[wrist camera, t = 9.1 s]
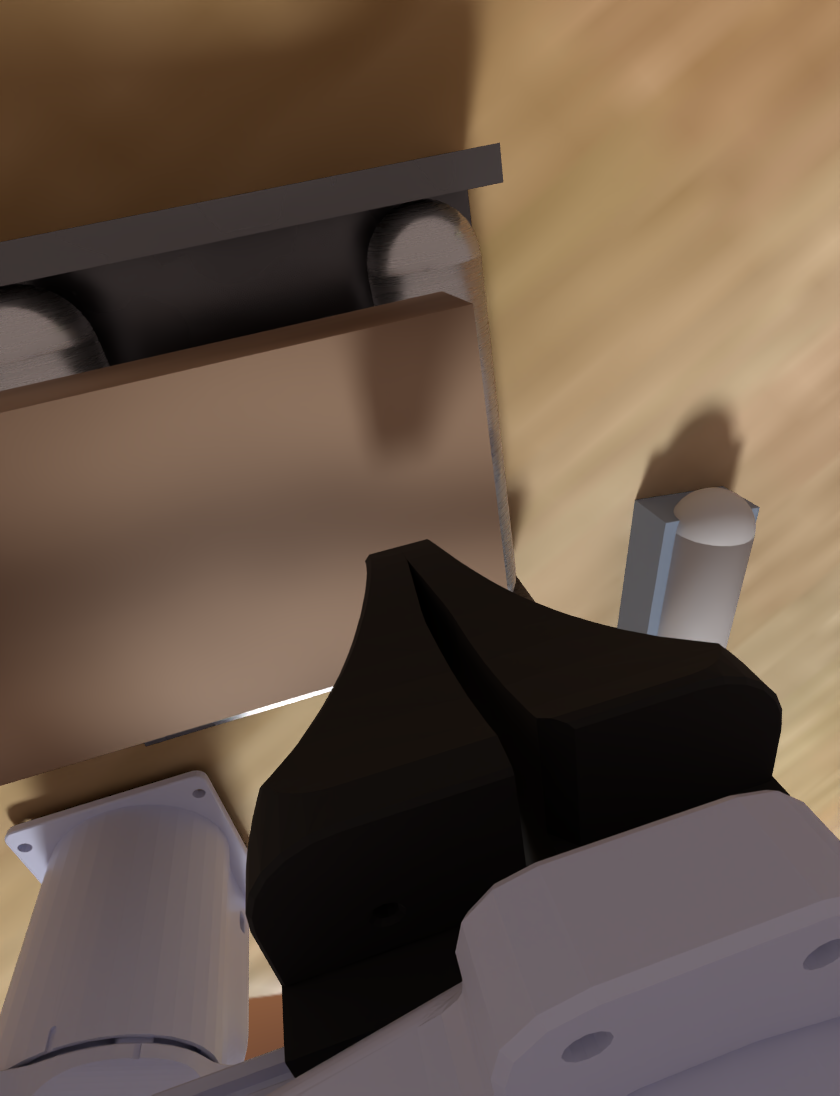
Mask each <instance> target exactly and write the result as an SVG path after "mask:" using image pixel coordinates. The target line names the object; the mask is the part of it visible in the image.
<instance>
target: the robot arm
mask: <svg viewBox="0 0 840 1096" xmlns="http://www.w3.org/2000/svg"><path fill="white" fill-rule="evenodd" d="M365 563H366V569H367V577H366V588H365V594H364V600H363V605H362V610H361V615H360V618H359V622H358V625H357V629H356V632H355V636H354V639H353V642H352V645H351V648H350V650H349V653H348V656H347V658H346V660H345V663H344V665H343V667H342V670H341V672H340V674H339V676H338V678H337V680H336V682H335V684H334V686H333V688H332V690H331V692H330V694H329V696H328V698H327V699H326V701H325V703H324V705H323V706H322V708H321V710H320V711H319V713H318V714H317V716H316V717H315V719H314V720H313V722H312V723H311V725H310V726H309V728H308V729H307V731H306V732H305V734H304V735H303V737H302V738H301V740H300V741H299V743H298V744H297V745H296V747H295V748H294V749H293V751H292V752H291V753H290V754H289V755H288V756H287V758H286V759H285V760H284V761H283V762H282V763H281V765H280V766H279V767H278V768H277V769H276V770H275V772H274V773H273V774H272V775H271V776H270V777H269V778H268V779H267V781H266V782H265V783H264V784H263V785H262V786H261V787H260V790H259V793H258V797H257V802H256V806H255V810H254V815H253V819H252V825H251V831H250V836H249V844H248V850H247V848H246V846H245V844H244V842H243V841H242V839H241V837H240V835H239V833H238V831H237V829H236V828H235V826H234V824H233V822H232V820H231V818H230V816H229V815H228V813H227V811H226V809H225V807H224V805H223V803H222V802H221V800H220V798H219V796H218V794H217V792H216V790H215V789H214V787H213V785H212V783H211V781H210V779H209V777H208V776H207V774H206V773H204V772H202V771H197V770H195V771H190V772H187V773H184V774H180V775H177V776H174V777H171V778H167V779H164V780H161V781H158V782H154V783H151V784H148V785H145V786H141V787H138V788H135V789H132V790H128V791H125V792H122V793H119V794H115V795H112V796H109V797H106V798H102V799H99V800H96V801H92V802H89V803H86V804H83V805H79V806H76V807H73V808H70V809H66V810H63V811H60V812H57V813H53V814H50V815H47V816H44V817H40V818H37V819H34V820H31V821H27V822H24V823H21V824H18V825H15V826H12V827H11V828H10V829H9V830H8V831H7V834H6V836H5V842H6V844H7V845H8V846H9V847H10V848H11V850H12V851H13V852H14V853H15V854H16V855H17V856H18V858H19V859H20V860H21V861H22V862H23V863H24V864H25V866H26V867H27V868H28V869H29V870H30V871H31V872H32V874H33V875H34V876H35V877H36V878H37V879H38V880H39V882H40V883H41V884H42V885H41V888H40V891H39V894H38V897H37V900H36V904H35V907H34V910H33V913H32V916H31V919H30V922H29V926H28V929H27V932H26V935H25V938H24V941H23V945H22V948H21V951H20V954H19V957H18V960H17V963H16V967H15V970H14V973H13V976H12V979H11V982H10V985H9V989H8V992H7V995H6V998H5V1001H4V1004H3V1007H2V1011H1V1014H0V1096H840V840H839V839H838V838H837V837H836V836H835V835H834V834H833V833H832V832H831V831H830V830H829V829H828V828H827V827H826V826H825V825H824V823H823V822H822V821H821V820H820V819H819V818H818V817H817V816H816V815H815V814H814V813H813V812H812V811H811V810H810V809H809V808H808V807H807V805H806V804H805V803H804V802H802V801H800V800H798V799H795V798H793V797H791V796H790V795H789V794H788V793H787V792H786V791H785V789H784V788H783V787H782V786H781V785H780V784H779V783H778V782H777V781H776V780H775V779H774V778H773V777H772V773H773V768H774V763H775V758H776V753H777V748H778V743H779V738H780V733H781V725H782V708H781V705H780V703H779V700H778V698H777V695H776V694H775V693H774V692H773V691H772V690H771V689H770V688H769V687H768V686H767V685H766V684H765V683H763V682H762V681H761V680H760V679H759V678H758V677H757V676H756V675H755V674H754V673H753V672H752V671H751V670H750V669H749V668H748V667H747V666H746V665H745V664H744V663H743V662H741V661H740V660H739V659H738V658H737V657H735V656H734V655H733V654H732V653H730V652H729V651H728V650H727V649H725V648H724V647H723V646H721V645H720V644H719V643H711V642H703V641H694V640H686V639H677V638H669V637H661V636H654V635H649V634H644V633H639V632H633V631H628V630H623V629H619V628H614V627H610V626H606V625H602V624H598V623H595V622H591V621H588V620H584V619H581V618H577V617H574V616H571V615H568V614H565V613H562V612H559V611H556V610H553V609H551V608H548V607H546V606H543V605H541V604H538V603H536V602H533V601H531V600H528V599H526V598H524V597H522V596H520V595H517V594H515V593H513V592H511V591H509V590H508V589H506V588H504V587H502V586H500V585H498V584H496V583H494V582H492V581H491V580H489V579H487V578H486V577H484V576H482V575H481V574H479V573H477V572H476V571H474V570H472V569H471V568H469V567H468V566H466V565H465V564H463V563H462V562H460V561H459V560H457V559H456V558H454V557H453V556H451V555H450V554H449V553H447V552H446V551H444V550H443V549H442V548H440V547H439V546H437V545H436V544H435V543H433V542H432V541H430V540H428V539H425V540H421V541H418V542H414V543H410V544H406V545H403V546H399V547H395V548H392V549H388V550H384V551H380V552H377V553H373V554H369V556H368V557H367V559H366V560H365ZM197 789H202V790H197ZM249 928H250V931H251V933H252V935H253V937H254V938H255V940H256V942H257V944H258V945H259V947H260V949H261V951H262V952H263V954H264V956H265V957H266V959H267V961H268V963H269V964H270V966H271V968H272V970H273V971H274V973H275V975H276V976H277V978H278V980H279V982H280V983H281V985H282V999H283V1000H282V1001H283V1026H284V1027H283V1028H284V1047H282V1048H279V1049H276V1050H274V1051H271V1052H269V1053H265V1054H263V1055H260V1056H257V1057H254V1058H252V1059H249V1060H246V1061H244V1058H245V1054H246V1050H247V1043H248V1010H249V1009H248V1006H249V1003H248V1002H249Z"/></svg>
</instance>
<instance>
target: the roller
mask: <svg viewBox="0 0 840 1096" xmlns="http://www.w3.org/2000/svg"><path fill="white" fill-rule="evenodd" d="M759 508H760V507H758V506H756V505H754V504H753V503H751V502H749V501H748V500H746V499H744V498H742V497H741V496H739V495H738V494H736V493H734V492H732V491H730V490H729V489H727V488H725V487H723V486H721V487H710V488H703V489H699V490H696V491H689V492H683V493H677V494H670V495H664V496H657V497H651V498H644V499H638V500H635V504H634V511H633V519H632V526H631V533H630V540H629V547H628V555H627V562H626V569H625V576H624V583H623V591H622V598H621V605H620V612H619V619H618V627H617V628H619V629H623V630H628V631H633V632H639V633H644V634H649V635H654V636H661V637H669V638H677V639H686V640H694V641H703V642H711V643H719V644H720V645H721V646H723V647H724V648H725V649H726V646H727V642H728V639H729V635H730V631H731V627H732V623H733V619H734V615H735V611H736V607H737V603H738V599H739V595H740V591H741V587H742V583H743V580H744V576H745V572H746V568H747V564H748V560H749V556H750V552H751V548H752V544H753V540H754V536H755V530H756V520H757V516H758V512H759Z"/></svg>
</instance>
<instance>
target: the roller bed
mask: <svg viewBox="0 0 840 1096" xmlns="http://www.w3.org/2000/svg"><path fill="white" fill-rule="evenodd" d="M502 182H503V174H502V163H501V152H500V143H496V144H491V145H486V146H481V147H476V148H471V149H466V150H461V151H456V152H451V153H446V154H441V155H436V156H431V157H426V158H421V159H416V160H411V161H406V162H401V163H396V164H391V165H386V166H381V167H376V168H371V169H366V170H361V171H356V172H351V173H346V174H340V175H335V176H330V177H325V178H320V179H315V180H310V181H305V182H300V183H295V184H290V185H285V186H280V187H275V188H270V189H265V190H260V191H255V192H250V193H245V194H240V195H235V196H230V197H225V198H220V199H215V200H210V201H205V202H200V203H195V204H190V205H185V206H180V207H175V208H170V209H165V210H160V211H155V212H150V213H144V214H139V215H134V216H129V217H124V218H119V219H114V220H109V221H104V222H99V223H94V224H89V225H84V226H79V227H74V228H69V229H64V230H59V231H54V232H49V233H44V234H39V235H34V236H29V237H24V238H19V239H14V240H9V241H4V242H0V391H3V390H7V389H12V388H16V387H21V386H25V385H30V384H34V383H38V382H43V381H47V380H52V379H56V378H60V377H65V376H69V375H74V374H78V373H83V372H87V371H91V370H96V369H100V368H105V367H109V366H113V365H118V364H122V363H127V362H131V361H136V360H140V359H144V358H149V357H153V356H158V355H162V354H167V353H171V352H175V351H180V350H184V349H189V348H193V347H197V346H202V345H206V344H211V343H215V342H220V341H224V340H228V339H233V338H237V337H242V336H246V335H250V334H255V333H259V332H264V331H268V330H273V329H277V328H281V327H286V326H290V325H295V324H299V323H303V322H308V321H312V320H317V319H321V318H326V317H330V316H334V315H339V314H343V313H348V312H352V311H356V310H361V309H365V308H370V307H374V306H379V305H383V304H387V303H392V302H396V301H401V300H405V299H409V298H414V297H418V296H423V295H427V294H432V293H436V292H440V291H443V292H445V293H448V294H450V295H453V296H455V297H458V298H460V299H463V300H465V301H467V302H470V303H472V304H473V305H474V314H475V322H476V330H477V339H478V347H479V355H480V363H481V372H482V380H483V388H484V397H485V405H486V413H487V422H488V430H489V438H490V446H491V455H492V463H493V471H494V480H495V488H496V496H497V505H498V513H499V521H500V529H501V538H502V546H503V554H504V563H505V571H506V579H507V588H508V590H509V591H511V592H513V593H515V594H517V595H520V596H522V597H524V598H526V599H528V600H531V601H533V602H535V601H534V600H533V598H532V597H531V596H530V594H529V593H528V592H527V590H526V589H525V587H524V586H523V585H522V583H521V582H520V580H519V579H518V578H517V576H516V568H515V559H514V550H513V541H512V532H511V523H510V514H509V505H508V496H507V487H506V477H505V468H504V459H503V450H502V441H501V432H500V423H499V414H498V405H497V396H496V387H495V377H494V368H493V359H492V350H491V341H490V332H489V323H488V314H487V305H486V296H485V287H484V277H483V268H482V259H481V253H480V248H479V243H478V240H477V237H476V235H475V232H474V230H473V228H472V225H471V216H470V208H469V199H468V189H473V188H478V187H483V186H487V185H492V184H497V183H502ZM332 688H333V686H332V687H329V688H326V689H322V690H319V691H316V692H312V693H309V694H306V695H302V696H299V697H296V698H292V699H289V700H286V701H282V702H279V703H276V704H272V705H269V706H265V707H262V708H259V709H255V710H252V711H249V712H245V713H242V714H239V715H235V716H232V717H229V718H225V719H222V720H219V721H215V722H212V723H209V724H205V725H202V726H199V727H195V728H192V729H189V730H185V731H182V732H178V733H175V734H172V735H168V736H165V737H162V738H158V739H155V740H152V741H148V742H145V743H144V744H145V746H149V745H152V744H156V743H159V742H162V741H166V740H169V739H172V738H176V737H179V736H182V735H186V734H189V733H192V732H196V731H199V730H202V729H206V728H209V727H212V726H216V725H219V724H222V723H226V722H229V721H232V720H236V719H239V718H242V717H246V716H249V715H252V714H256V713H259V712H262V711H266V710H269V709H272V708H276V707H279V706H282V705H286V704H289V703H292V702H296V701H299V700H302V699H306V698H309V697H312V696H316V695H319V694H322V693H326V692H329V691H331V690H332Z"/></svg>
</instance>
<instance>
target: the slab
mask: <svg viewBox="0 0 840 1096" xmlns="http://www.w3.org/2000/svg"><path fill="white" fill-rule="evenodd" d="M425 539H428V540H430V541H432V542H433V543H435V544H436V545H437V546H439V547H440V548H442V549H443V550H444V551H446V552H447V553H449V554H450V555H451V556H453V557H454V558H456V559H457V560H459V561H460V562H462V563H463V564H465V565H466V566H468V567H469V568H471V569H472V570H474V571H476V572H477V573H479V574H481V575H482V576H484V577H486V578H487V579H489V580H491V581H492V582H494V583H496V584H498V585H500V586H502V587H504V588H506V589H508V588H507V579H506V571H505V563H504V554H503V546H502V538H501V529H500V521H499V513H498V505H497V496H496V488H495V480H494V471H493V463H492V455H491V446H490V438H489V430H488V422H487V413H486V405H485V397H484V388H483V380H482V372H481V363H480V355H479V347H478V339H477V330H476V322H475V314H474V305H473V304H472V303H470V302H467V301H465V300H463V299H460V298H458V297H455V296H453V295H450V294H448V293H445V292H443V291H440V292H436V293H432V294H427V295H423V296H418V297H414V298H409V299H405V300H401V301H396V302H392V303H387V304H383V305H379V306H374V307H370V308H365V309H361V310H356V311H352V312H348V313H343V314H339V315H334V316H330V317H326V318H321V319H317V320H312V321H308V322H303V323H299V324H295V325H290V326H286V327H281V328H277V329H273V330H268V331H264V332H259V333H255V334H250V335H246V336H242V337H237V338H233V339H228V340H224V341H220V342H215V343H211V344H206V345H202V346H197V347H193V348H189V349H184V350H180V351H175V352H171V353H167V354H162V355H158V356H153V357H149V358H144V359H140V360H136V361H131V362H127V363H122V364H118V365H113V366H109V367H105V368H100V369H96V370H91V371H87V372H83V373H78V374H74V375H69V376H65V377H60V378H56V379H52V380H47V381H43V382H38V383H34V384H30V385H25V386H21V387H16V388H12V389H7V390H3V391H0V786H1V785H4V784H8V783H11V782H15V781H18V780H21V779H25V778H28V777H31V776H35V775H38V774H41V773H45V772H48V771H51V770H55V769H58V768H61V767H65V766H68V765H71V764H75V763H78V762H81V761H85V760H88V759H91V758H95V757H98V756H102V755H105V754H108V753H112V752H115V751H118V750H122V749H125V748H128V747H132V746H135V745H138V744H142V743H145V742H148V741H152V740H155V739H158V738H162V737H165V736H168V735H172V734H175V733H178V732H182V731H185V730H189V729H192V728H195V727H199V726H202V725H205V724H209V723H212V722H215V721H219V720H222V719H225V718H229V717H232V716H235V715H239V714H242V713H245V712H249V711H252V710H255V709H259V708H262V707H265V706H269V705H272V704H276V703H279V702H282V701H286V700H289V699H292V698H296V697H299V696H302V695H306V694H309V693H312V692H316V691H319V690H322V689H326V688H329V687H332V686H334V684H335V682H336V680H337V678H338V676H339V674H340V672H341V670H342V667H343V665H344V663H345V660H346V658H347V656H348V653H349V650H350V648H351V645H352V642H353V639H354V636H355V632H356V629H357V625H358V622H359V618H360V615H361V610H362V605H363V600H364V594H365V588H366V577H367V569H366V563H365V560H366V559H367V557H368V556H369V554H373V553H377V552H380V551H384V550H388V549H392V548H395V547H399V546H403V545H406V544H410V543H414V542H418V541H421V540H425Z"/></svg>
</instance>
